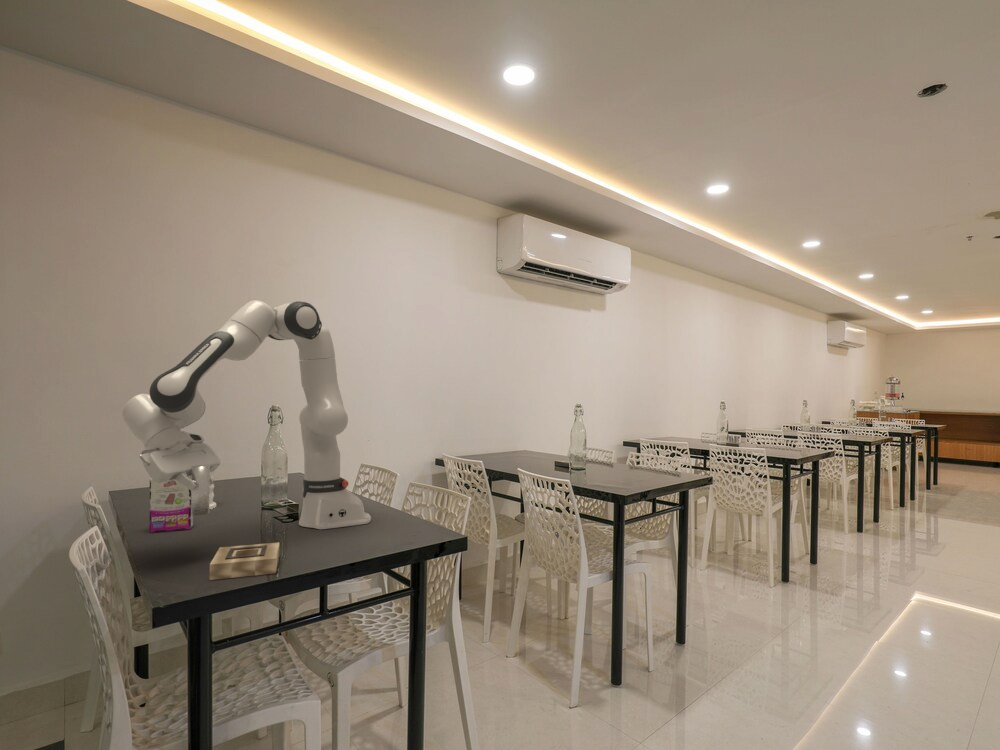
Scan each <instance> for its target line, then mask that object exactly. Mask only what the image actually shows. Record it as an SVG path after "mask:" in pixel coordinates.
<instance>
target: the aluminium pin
mask: <svg viewBox="0 0 1000 750" xmlns="http://www.w3.org/2000/svg"><path fill="white" fill-rule="evenodd" d="M192 480H195V481H196V482H197V483H198V485H199V486H198V487H197V488H196V489H194V490H192V506H191V515H193V516H203V515H207V514H210V510H209V492H210V465H197V466H192Z"/></svg>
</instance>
